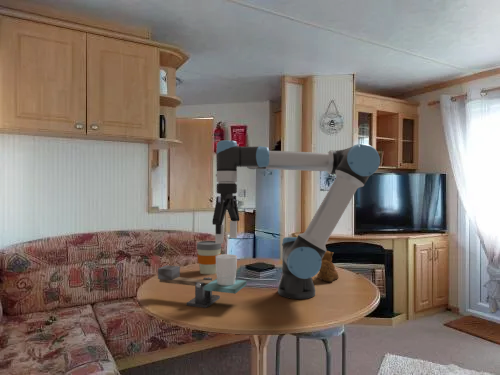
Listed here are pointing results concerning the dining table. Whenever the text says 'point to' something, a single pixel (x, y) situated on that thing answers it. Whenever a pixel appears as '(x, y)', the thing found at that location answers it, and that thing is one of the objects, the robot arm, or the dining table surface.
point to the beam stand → (202, 296)
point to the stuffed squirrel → (327, 268)
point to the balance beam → (196, 280)
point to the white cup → (226, 269)
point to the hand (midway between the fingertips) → (226, 240)
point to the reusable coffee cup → (208, 256)
